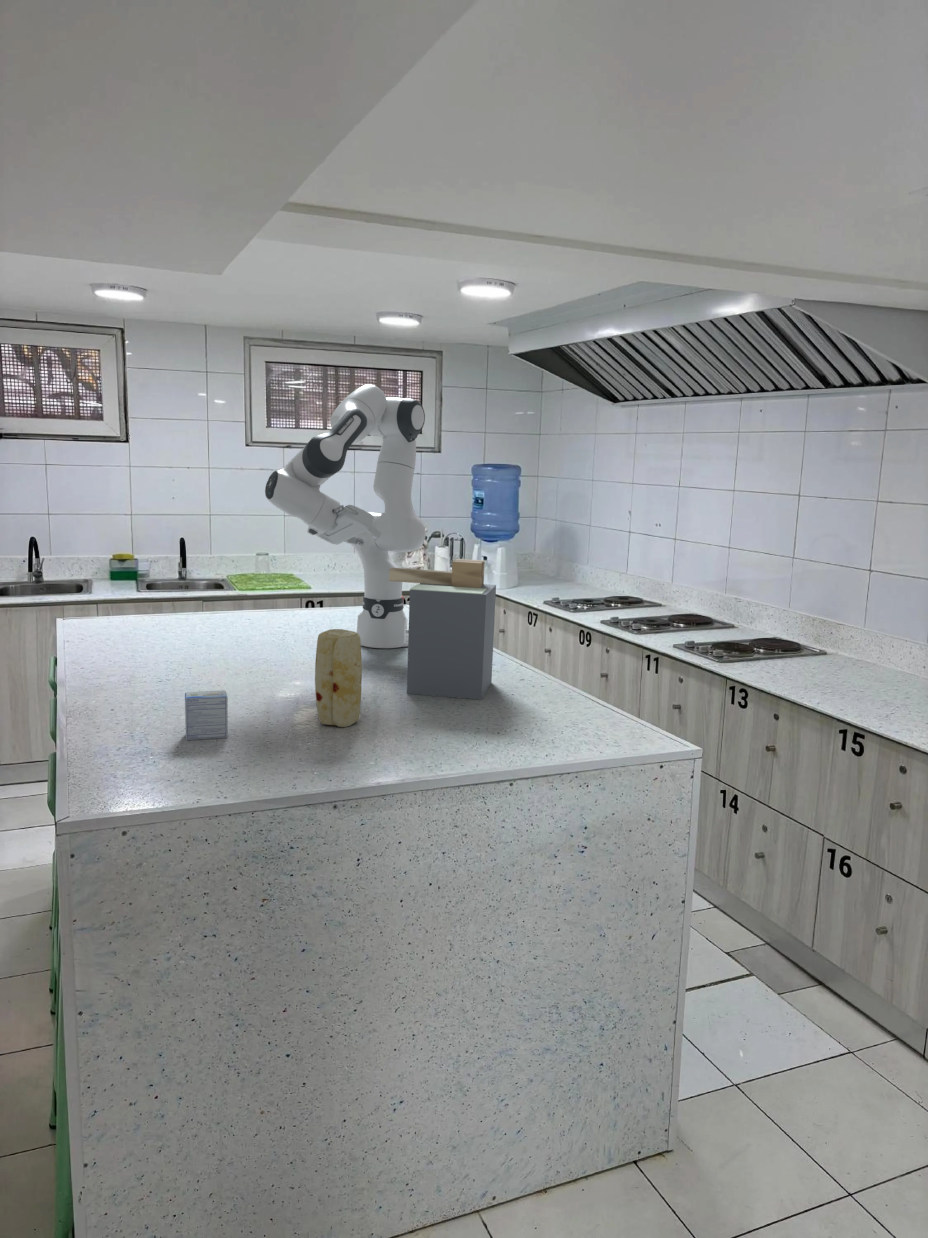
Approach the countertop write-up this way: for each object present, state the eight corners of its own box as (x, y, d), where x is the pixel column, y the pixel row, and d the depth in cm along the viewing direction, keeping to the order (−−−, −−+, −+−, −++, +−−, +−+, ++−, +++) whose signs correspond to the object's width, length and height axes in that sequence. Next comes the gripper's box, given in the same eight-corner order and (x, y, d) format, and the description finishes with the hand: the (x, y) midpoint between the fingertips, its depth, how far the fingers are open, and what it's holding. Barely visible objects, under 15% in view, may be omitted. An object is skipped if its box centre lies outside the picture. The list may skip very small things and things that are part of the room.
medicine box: (226, 731, 176) (226, 689, 174) (228, 738, 172) (227, 695, 170) (185, 734, 173) (184, 691, 172) (185, 741, 169) (185, 697, 168)
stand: (422, 676, 226) (425, 579, 222) (491, 682, 223) (496, 584, 219) (406, 693, 210) (409, 588, 205) (481, 699, 207) (486, 593, 202)
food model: (356, 717, 189) (358, 626, 185) (365, 727, 183) (367, 632, 179) (311, 721, 185) (312, 627, 181) (318, 730, 179) (319, 634, 175)
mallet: (393, 578, 222) (394, 555, 221) (483, 584, 218) (484, 560, 217) (387, 581, 216) (388, 557, 215) (479, 587, 212) (481, 563, 211)
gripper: (347, 493, 215) (394, 520, 221) (313, 513, 232) (357, 538, 238) (339, 515, 213) (386, 541, 219) (304, 534, 230) (349, 558, 236)
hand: (370, 540), depth 229 cm, fingers open, 8 cm apart
